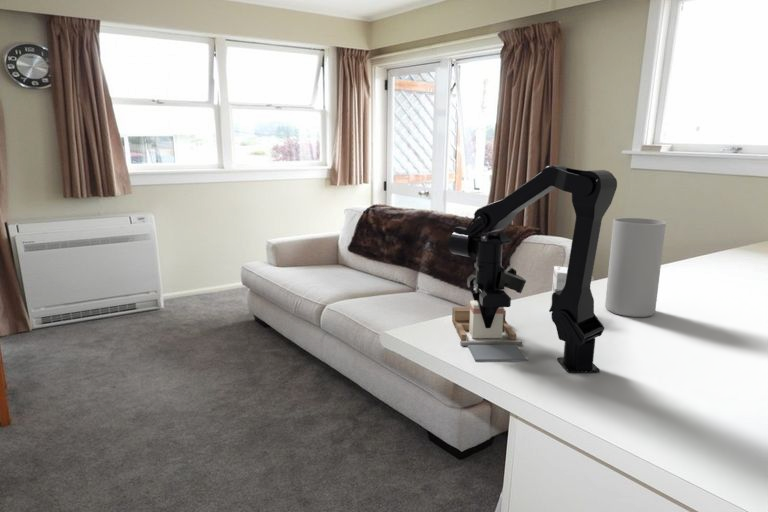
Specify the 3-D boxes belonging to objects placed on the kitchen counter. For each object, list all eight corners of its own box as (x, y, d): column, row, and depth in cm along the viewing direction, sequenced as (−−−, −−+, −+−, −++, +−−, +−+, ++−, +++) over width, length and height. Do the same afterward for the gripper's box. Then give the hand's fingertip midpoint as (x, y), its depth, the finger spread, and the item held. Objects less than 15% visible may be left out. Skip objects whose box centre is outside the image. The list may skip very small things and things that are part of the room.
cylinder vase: (653, 307, 143) (664, 219, 138) (656, 320, 132) (667, 225, 127) (605, 302, 148) (613, 216, 143) (604, 314, 137) (613, 222, 132)
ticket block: (502, 337, 120) (504, 305, 118) (472, 338, 119) (473, 305, 118) (497, 331, 124) (499, 300, 122) (468, 332, 123) (470, 300, 122)
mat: (527, 360, 107) (527, 358, 107) (475, 361, 107) (475, 359, 107) (516, 346, 115) (516, 344, 115) (468, 346, 115) (468, 344, 114)
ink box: (573, 316, 135) (576, 273, 133) (553, 315, 136) (556, 272, 134) (568, 307, 143) (571, 266, 141) (550, 306, 144) (553, 265, 142)
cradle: (522, 345, 115) (523, 328, 115) (461, 345, 115) (461, 329, 114) (503, 321, 132) (504, 306, 131) (449, 321, 131) (450, 306, 130)
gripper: (536, 270, 109) (531, 339, 112) (512, 252, 127) (508, 312, 130) (484, 270, 109) (481, 339, 112) (468, 252, 127) (465, 312, 130)
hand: (485, 324), depth 121 cm, fingers closed on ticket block, 4 cm apart
